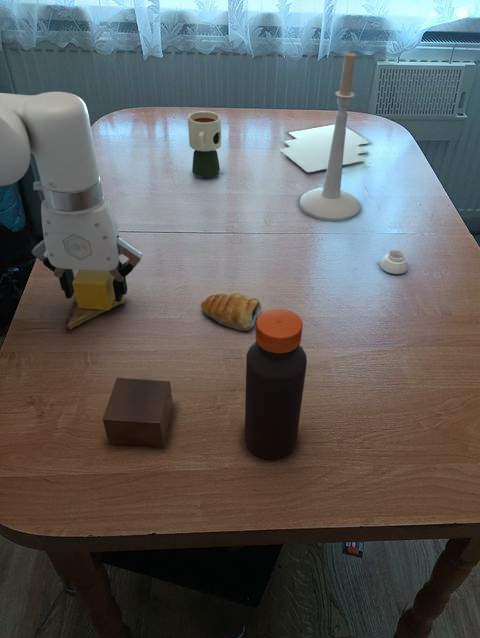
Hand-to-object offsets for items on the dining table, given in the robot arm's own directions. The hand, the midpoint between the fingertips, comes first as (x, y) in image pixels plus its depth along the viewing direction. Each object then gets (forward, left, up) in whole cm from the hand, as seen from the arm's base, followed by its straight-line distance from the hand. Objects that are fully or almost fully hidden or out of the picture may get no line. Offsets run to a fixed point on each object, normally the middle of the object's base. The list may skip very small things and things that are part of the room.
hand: (96, 294), depth 86 cm
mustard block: (0, 0, -1) cm, 1 cm away
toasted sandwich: (0, 0, -3) cm, 3 cm away
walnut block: (+12, -23, -3) cm, 26 cm away
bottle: (+29, -24, -3) cm, 38 cm away
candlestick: (+39, +39, -3) cm, 55 cm away
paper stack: (+39, +69, -3) cm, 79 cm away
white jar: (+50, +17, -3) cm, 53 cm away
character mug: (+11, +50, -3) cm, 51 cm away
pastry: (+22, 0, -3) cm, 22 cm away
